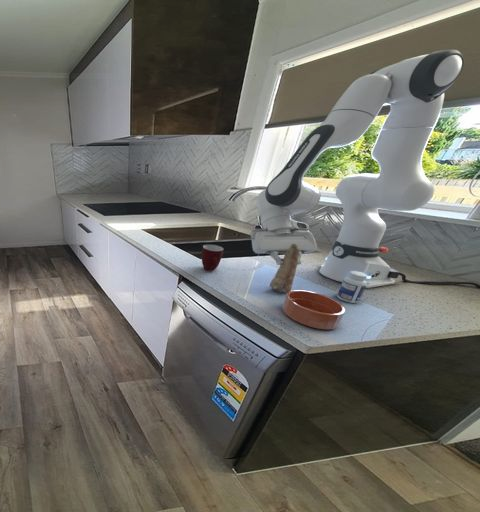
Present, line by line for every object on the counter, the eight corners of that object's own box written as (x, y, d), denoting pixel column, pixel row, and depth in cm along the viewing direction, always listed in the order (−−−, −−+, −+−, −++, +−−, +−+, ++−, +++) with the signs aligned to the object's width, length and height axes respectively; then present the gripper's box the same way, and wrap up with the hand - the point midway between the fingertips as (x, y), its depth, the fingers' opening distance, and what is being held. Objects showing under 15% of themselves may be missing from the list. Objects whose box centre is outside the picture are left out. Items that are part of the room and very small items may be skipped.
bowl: (311, 304, 80) (316, 289, 78) (351, 330, 68) (358, 314, 66) (271, 304, 80) (276, 290, 78) (304, 331, 68) (311, 315, 66)
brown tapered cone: (265, 286, 90) (276, 295, 85) (276, 241, 83) (289, 248, 77) (282, 284, 90) (295, 294, 85) (294, 240, 83) (309, 246, 77)
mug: (225, 276, 99) (230, 253, 95) (205, 276, 99) (209, 253, 96) (214, 265, 109) (218, 244, 105) (196, 265, 109) (200, 244, 105)
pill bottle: (351, 295, 84) (362, 270, 80) (362, 304, 79) (375, 278, 76) (332, 294, 85) (343, 269, 82) (342, 302, 81) (354, 276, 77)
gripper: (254, 224, 86) (263, 260, 80) (313, 224, 85) (327, 261, 80) (244, 232, 91) (253, 267, 86) (299, 232, 91) (311, 267, 86)
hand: (289, 264), depth 83 cm, fingers closed on brown tapered cone, 4 cm apart
